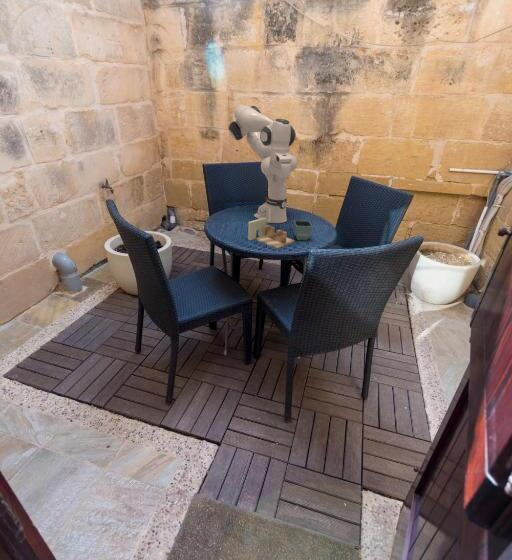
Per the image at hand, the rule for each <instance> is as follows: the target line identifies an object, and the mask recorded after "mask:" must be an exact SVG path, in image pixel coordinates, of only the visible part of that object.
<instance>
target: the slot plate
mask: <svg viewBox="0 0 512 560" xmlns="http://www.w3.org/2000/svg"><path fill="white" fill-rule="evenodd" d="M266 225H268V223H267V218H265V217H264V218H260V219H258V218H256V219H253V220H251V221H248V226H247V227H248V229H247V240H248V241H253V240H256V238H257V234H258V237H260V236H263V235H265V226H266ZM257 231H258V232H257Z"/></svg>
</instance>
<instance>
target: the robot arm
mask: <svg viewBox="0 0 512 560" xmlns="http://www.w3.org/2000/svg"><path fill="white" fill-rule="evenodd" d="M234 118H235V119H234V120H233V121H231V122H230V123H229V125H228V129H227V130H228V132H229V135H230V136H231V137H232V138H233V139H234V140H235V141H239V140H242V139H243V138H244V137H245V138H246V140H245V141H246V142H247V144H248V145H249V147H250V148H251V149H252V150H253V152H254V153H255V154H256V156H258V158H259V159H261V163H260V170H261V172H262V174H263V175H265V178H266V179H267V183H268V196H266V197H265V200H266V201H265V202H264V203H263V204H262V205H260V206H258V207H257V208H258V209H257V212H256V213H254V214H253V217H255V218H256V219H260V218H264V217H265V218H267V224H271V223H272V224H281V223H282V224H283V223H285V222H287V221H288V218H287V208H286V207H287V201H288V200H287V194H288V193H287V191H288V185H287V183H286V182H285V180H288V179H290V176H291V173H292V172H294V171H296V170H297V168H298V159H297V157H296V156H295V155H292V154H290V146H292V145H293V143H294V142H295V141H296V137H297V136H296V131H295V129H294V127H293V126H292V125H291V122H290V121H289V120H288V119H283V118H276V119H272V118H270V117H268V116H267V115H264V114H262V112H261V110H260V109H259V108H258V107H257V106H255V105H251V106H249V105H246V104H241V105H238V106H237V107H236V108H235V109H234Z"/></svg>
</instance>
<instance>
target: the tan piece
mask: <svg viewBox="0 0 512 560" xmlns="http://www.w3.org/2000/svg"><path fill="white" fill-rule="evenodd" d="M275 229H276V228H275V226H272V225H269V224H267V225H266V226H265V235H263V236H260V237H259V236H258V237H257V236H256V239H255V240H256V241H258V242H260V243H262V244H265V245H267V246H269V247H271V248H274V249H276V250H278V249H280V248H284V247H286V246H288V245H291V244H293V243H295V240H294V239H292V238H291V237H290V238H289V237H287V236H288V232H287V231H285V230H282V229H277V230H276V232H275Z"/></svg>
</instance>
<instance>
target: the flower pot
mask: <svg viewBox="0 0 512 560" xmlns="http://www.w3.org/2000/svg"><path fill="white" fill-rule="evenodd" d="M312 229H313V225H312V223H311V222H310V221H309V220H294V221H293V230H294V231H293V232H294V235H295V237H296V240H297V241H307V240H308V239H309V237H310V235H311V233H312Z"/></svg>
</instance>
